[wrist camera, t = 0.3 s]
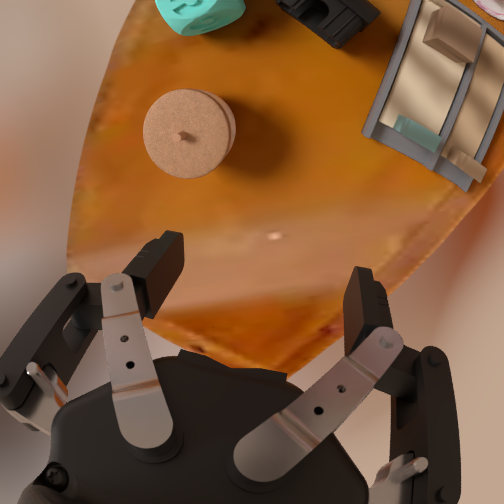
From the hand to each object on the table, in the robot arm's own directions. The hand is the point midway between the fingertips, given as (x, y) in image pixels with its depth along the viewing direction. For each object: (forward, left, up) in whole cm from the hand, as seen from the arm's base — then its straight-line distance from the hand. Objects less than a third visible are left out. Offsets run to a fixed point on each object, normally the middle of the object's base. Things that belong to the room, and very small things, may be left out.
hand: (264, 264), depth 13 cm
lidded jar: (+2, -12, -28) cm, 30 cm away
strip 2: (-17, +20, -28) cm, 38 cm away
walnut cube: (-22, +12, -26) cm, 36 cm away
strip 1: (-17, +12, -28) cm, 34 cm away
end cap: (-18, -2, -28) cm, 33 cm away
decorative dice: (-15, -16, -28) cm, 36 cm away
